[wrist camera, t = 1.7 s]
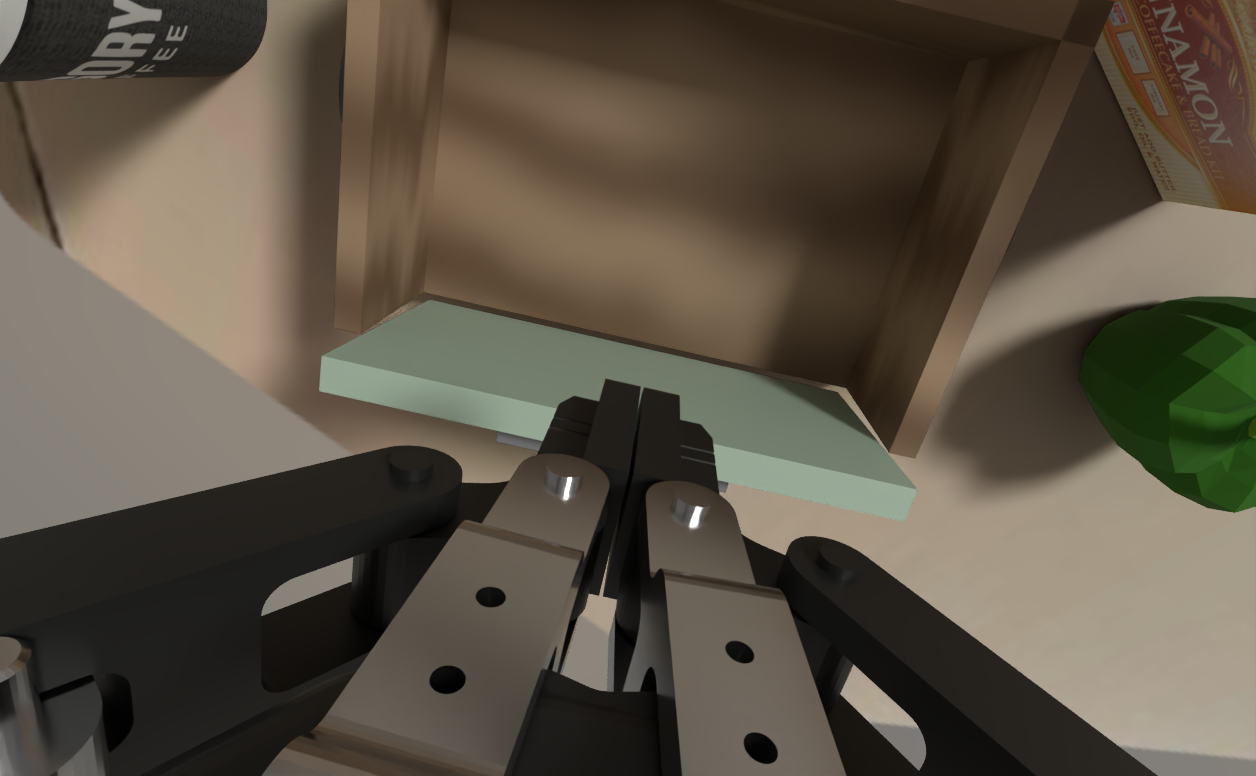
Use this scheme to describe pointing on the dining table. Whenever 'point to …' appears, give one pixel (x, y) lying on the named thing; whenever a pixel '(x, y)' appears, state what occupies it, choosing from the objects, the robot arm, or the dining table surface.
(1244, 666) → the dining table surface
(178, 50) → the coffee cup
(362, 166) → the box
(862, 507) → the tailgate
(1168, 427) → the bell pepper
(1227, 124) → the coffeecake box
